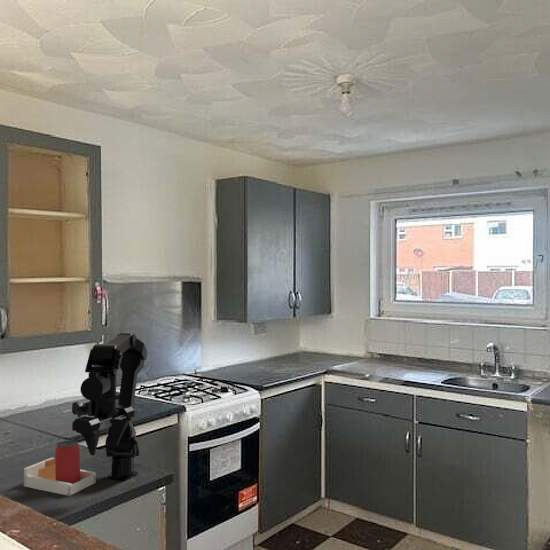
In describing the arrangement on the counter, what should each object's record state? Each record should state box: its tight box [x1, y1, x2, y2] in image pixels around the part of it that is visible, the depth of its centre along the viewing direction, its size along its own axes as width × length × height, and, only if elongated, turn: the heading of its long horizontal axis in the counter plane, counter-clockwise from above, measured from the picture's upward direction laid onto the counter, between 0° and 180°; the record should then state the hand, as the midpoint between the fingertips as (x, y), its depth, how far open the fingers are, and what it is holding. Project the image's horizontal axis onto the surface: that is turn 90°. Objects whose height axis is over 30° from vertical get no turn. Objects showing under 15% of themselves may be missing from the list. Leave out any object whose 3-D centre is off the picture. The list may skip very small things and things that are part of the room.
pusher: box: [38, 457, 56, 480], centre depth 162 cm, size 8×1×6 cm, turn 158°
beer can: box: [54, 439, 81, 484], centre depth 159 cm, size 7×7×12 cm
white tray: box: [23, 457, 97, 497], centre depth 160 cm, size 10×16×5 cm, turn 68°
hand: (104, 450), depth 151 cm, fingers open, 9 cm apart
